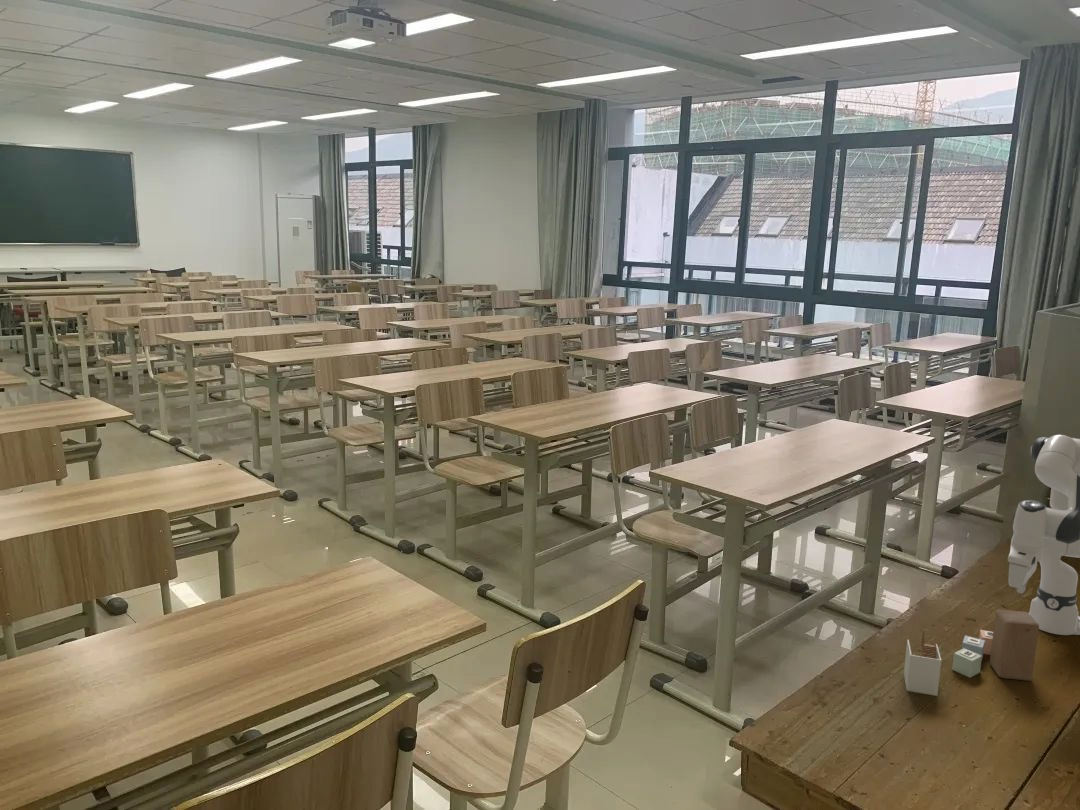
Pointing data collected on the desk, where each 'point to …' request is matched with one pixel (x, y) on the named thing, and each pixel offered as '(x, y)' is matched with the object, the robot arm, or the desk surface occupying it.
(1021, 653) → the wooden block
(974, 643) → the tile cube slate
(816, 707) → the desk surface
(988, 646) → the tile cube terracotta
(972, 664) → the tile cube sage
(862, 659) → the desk surface
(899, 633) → the desk surface
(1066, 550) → the robot arm
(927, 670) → the tall white open bin
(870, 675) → the desk surface
